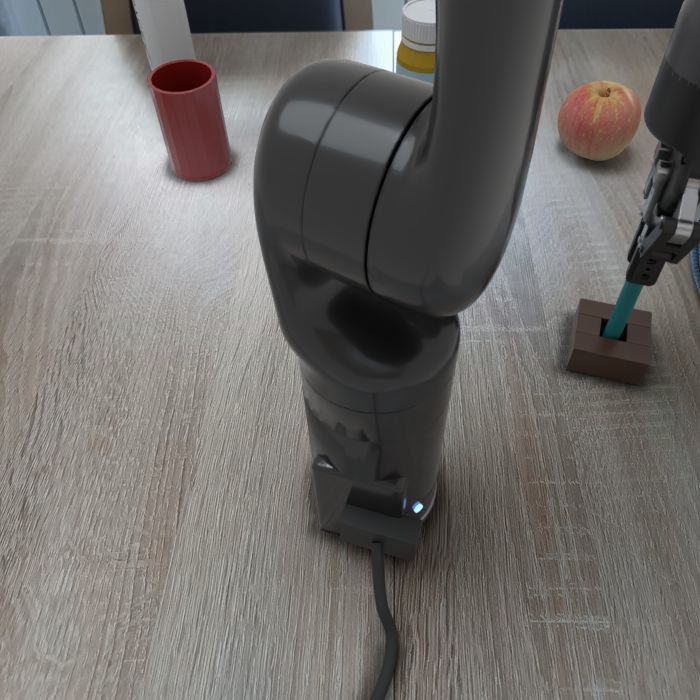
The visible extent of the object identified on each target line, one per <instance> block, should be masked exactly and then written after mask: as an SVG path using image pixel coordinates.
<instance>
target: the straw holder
mask: <svg viewBox="0 0 700 700" xmlns="http://www.w3.org/2000/svg"><path fill="white" fill-rule="evenodd" d="M614 307H615V304H613V303H608V302H603V301H598V300H594V299H588V298H583V297H581V298H580V299H579V302H578V304H577V307H576V310H575V313H574V315H573V318H572V322H571V331H570V336H569V337H570V338H569V343H568V352H567V358H566V365H565V370H566V371H571V372H576V373H579V374H585V375H589V376H594V377H597V378H601V379H608V380H611V381H616V382H621V383H625V384H630V385H632V386H633V385H634V386H640V384H641V382H642V380H643V378H644V377H645V375H646V373H647V371H648V369H649V368H650V365H651V350H652V349H651V347H652V326H653V325H652V322H653V312H652V311H648V310H643V309H638V308H633V310H632V312H631V314H630V316H629V319H628V321H627V323H626V325H625V327H624V329H623V332H622V334H621V336H620V338H619V340H614V339H609V338H604V337H602V335H603V332H604V330H605V328H606V325H607V323H608V321H609V318H610V316H611V314H612V311H613V309H614Z"/></svg>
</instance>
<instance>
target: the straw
mask: <svg viewBox="0 0 700 700" xmlns="http://www.w3.org/2000/svg"><path fill="white" fill-rule="evenodd" d="M643 289H644V285H639V284H634V283H629V282H627V281H626V280H624V284H623V286H622V288H621V289H620V290H621V291H620V292H619V295H618V297H617V300H616V302H615V304H614V305H615V307H614V309H613V311H612V314H611V316H610V318H609V321H608V323H607V325H606V328H605V330H604V332H603V335H602V337H604V338H609V339H614V340H619V338H620V336H621V334H622V332H623V329H624V327H625V325H626V323H627V321H628V319H629V316H630V314H631V312H632V310H633V309H635V305H636V304H637V301H638V299H639V297H640V295H641V292H642V290H643Z"/></svg>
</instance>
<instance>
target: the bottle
mask: <svg viewBox="0 0 700 700" xmlns="http://www.w3.org/2000/svg"><path fill="white" fill-rule="evenodd" d="M401 10H402V11H401V26H400V27H401V28H400V29H401V31H400V32H401V39H400V41H399V45H398V47H397V51H396V59H395V61H396V62H395V64H396V65H395V73H398V74H401V75H405V76H408V77H412V78H415V79H419V80H422V81H425V82H429V83H432V84H433V83H434V69H435V40H436V10H435V0H410V1H408V2H407V3H405V4H404V5H403V7H402V9H401Z"/></svg>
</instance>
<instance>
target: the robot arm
mask: <svg viewBox="0 0 700 700" xmlns="http://www.w3.org/2000/svg"><path fill="white" fill-rule="evenodd" d="M564 4H565V0H435V10H436V40H435V69H434V83H433V84H432V83H429V82H425V81H422V80H419V79H415V78H412V77H408V76H405V75H401V74H398V73H396V72H394V71H391V70H387V69H385V68H380V67H377V66H373V65H370V64H365V63H362V62H359V61H354V60H350V59H346V58H345V59H344V58H335V57H328V58H322V59H318V60H314V61H311V62H309V63H307V64H305V65H304V66H303V67H301V68H299V69H298V70H297V71H295V72H294V73H293V74H292V75H291V76H289V78H288V79H287V80H286V81H285V82H284V83H283V84H282V86H281V87H280V89H279V90H278V92H277V93H276V95H275V97H274V98H273V100H272V102H271V104H270V106H269V107H268V110H267V112H266V114H265V117H264V119H263V122H262V125H261V127H260V128H261V129H260V132H259V135H258V139H257V144H256V151H255V154H254V155H255V156H254V162H253V163H254V164H253V176H252V177H253V178H252V192H253V193H252V198H253V199H252V200H253V212H254V219H255V227H256V232H257V238H258V243H259V246H260V252H261V256H262V260H263V263H264V264H263V265H264V269H265V273H266V277H267V280H268V284H269V285H268V286H269V289H270V293H271V297H272V301H273V304H274V308H275V314H276V318H277V322H278V325H279V328H280V332H281V334H282V336H283V338H284V340H285V342H286V343H287V345H288V347H289V348H290V349H291V350H292V351H293V353H294V354H295V355H296V356H297V358H298V365H299V373H300V379H301V388H302V396H303V403H304V409H305V417H306V418H305V419H306V425H307V432H308V439H309V445H310V446H309V448H310V453H311V460H312V461H311V462H312V463H311V475H312V482H313V488H314V489H313V490H314V497H315V504H316V509H317V517H318V524H319V525H318V526H319V528H320V529H322V530H324V531H327V532H331V533H334V534H338V535H339V536H340V541H342V542H344V543H348V544H351V545H355V546H358V547H362V548H365V549H368V550H370V551H371V552H370V553H371V572H372V585H373V588H372V589H373V595H374V602H375V608H376V612H377V615H378V619H379V621H380V622H381V625H382V627H383V631H384V635H385V647H384V649H385V650H384V655H383V660H382V661H383V663H382V666H381V670H380V673H379V675H378V678H377V681H376V683H375V686H374V688H373V691H372V694H371V696H370V697H369V700H385V697H386V695H387V693H388V691H389V688H390V685H391V681H392V679H393V676H394V672H395V668H396V663H397V659H398V657H397V656H398V648H399V647H398V646H399V635H398V629H397V625H396V623H395V620H394V617H393V615H392V613H391V610H390V607H389V601H388V595H387V588H386V587H387V586H386V573H385V572H386V571H385V555H389V556H391V557H395V558H399V559H401V560H405V561H407V562H412V563H414V562H415V559H416V555H417V552H418V548H419V544H420V540H421V533H422V529H423V528H422V527H423V523H425V522H426V520H427V519H428V517H429V516H430V514H431V512H432V510H433V507H434V505H435V501H436V496H437V489H438V487H437V486H438V475H439V469H440V463H441V462H440V461H441V457H442V449H443V443H444V437H445V431H446V425H447V419H448V413H449V408H450V401H451V396H452V391H453V385H454V378H455V372H456V366H457V362H458V357H459V350H460V345H461V321H460V317H459V313H461V312H464V311H466V310H467V309H468V308H470V307H472V305H474V303H476V301H477V300H478V299H480V298H481V296H482V295H483V294H484V293H485V291H486V289H487V288H488V287H489V285H490V284H491V282H492V280H493V278H494V276H495V275H496V273H497V271H498V269H499V267H500V264H501V262H502V260H503V258H504V256H505V255H506V251H507V248H508V246H509V243H510V240H511V238H512V235H513V232H514V229H515V226H516V222H517V219H518V215H519V212H520V209H521V206H522V202H523V199H524V198H523V197H524V193H525V189H526V184H527V180H528V175H529V171H530V167H531V162H532V160H533V159H532V158H533V153H534V149H535V145H536V139H537V135H538V129H539V124H540V119H541V115H542V111H543V104H544V100H545V97H546V96H545V95H546V90H547V86H548V81H549V76H550V72H551V71H550V70H551V67H552V61H553V56H554V51H555V46H556V42H557V37H558V33H559V27H560V24H561V23H560V22H561V19H562V18H561V17H562V13H563V8H564ZM643 118H644V123H645V126H646V128H647V130H648V131H649V133H650V134H651V135H652V136H653V137H654V138H655V139H656V140H657V144H656V146H655V149H654V151H653V152H654V153H653V162H652V166H651V168H650V171H649V174H648V176H647V178H646V181H645V183H644V188H643V192H642V195H643V200H645V201H644V204H643V206H642V208H640V210H639V214H638V215H639V224H638V225H637V229H636V231H635V234H634V236H633V239H632V241H631V244H630V245H629V249H628V250H627V255H626V256H627V258H626V259H627V262H628V265H627V269H626V271H625V281H627V282H629V283H634V284H639V285H644V286H645V287H652V286H654V285H656V283H657V281H658V279H659V277H660V276H661V273H662V271H663V269H664V266H666V263H668V264H671V265H678V264H679V263H680V262H681V261H682V260H683V259H685V257H687V255H689V254H690V253H691V252H692V251H693V250H694V249H695V248H696V247H697V246H699V244H700V221H699V220H700V0H683V2H682V5H681V7H680V10H679V11H678V15H677V18H676V21H675V23H674V26H673V29H672V31H671V35H670V36H669V40H668V43H667V45H666V48H665V51H664V54H663V57H662V59H661V63H660V65H659V67H658V71H657V74H656V76H655V79H654V82H653V85H652V88H651V90H650V93H649V96H648V99H647V101H646V105H645V108H644V112H643ZM644 286H643V287H644ZM384 554H385V555H384Z"/></svg>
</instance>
